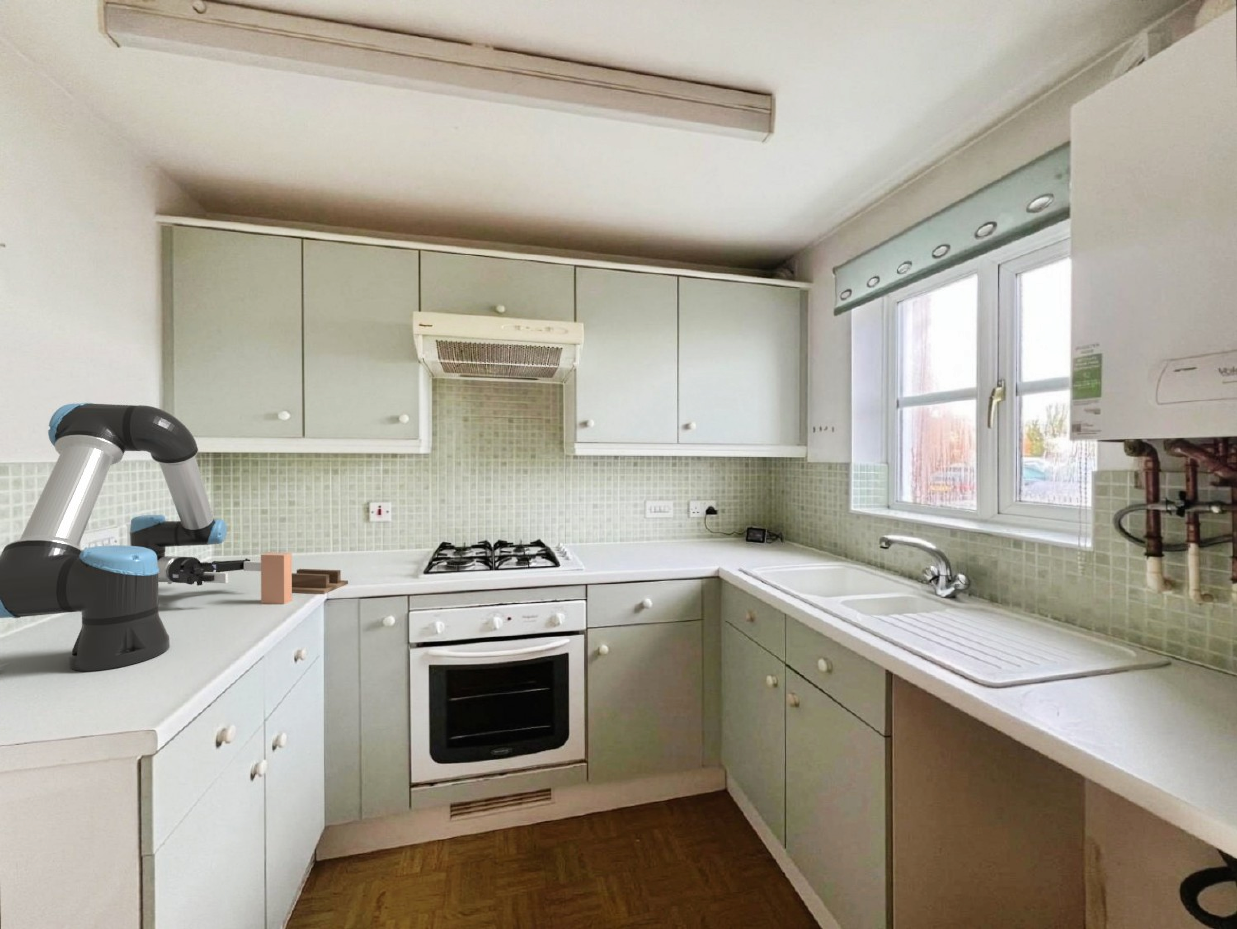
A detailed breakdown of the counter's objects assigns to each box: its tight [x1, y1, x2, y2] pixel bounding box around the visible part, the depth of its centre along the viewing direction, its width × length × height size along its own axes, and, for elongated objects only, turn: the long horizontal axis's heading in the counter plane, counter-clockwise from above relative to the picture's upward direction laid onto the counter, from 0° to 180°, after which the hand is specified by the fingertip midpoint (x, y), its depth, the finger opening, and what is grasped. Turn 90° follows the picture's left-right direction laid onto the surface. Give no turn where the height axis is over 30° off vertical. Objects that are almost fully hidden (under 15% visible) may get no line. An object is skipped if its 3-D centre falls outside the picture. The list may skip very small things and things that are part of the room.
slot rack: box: [292, 568, 349, 595], centre depth 160 cm, size 12×16×5 cm
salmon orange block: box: [260, 552, 293, 605], centre depth 145 cm, size 3×7×14 cm, turn 86°
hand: (246, 572), depth 146 cm, fingers open, 13 cm apart
